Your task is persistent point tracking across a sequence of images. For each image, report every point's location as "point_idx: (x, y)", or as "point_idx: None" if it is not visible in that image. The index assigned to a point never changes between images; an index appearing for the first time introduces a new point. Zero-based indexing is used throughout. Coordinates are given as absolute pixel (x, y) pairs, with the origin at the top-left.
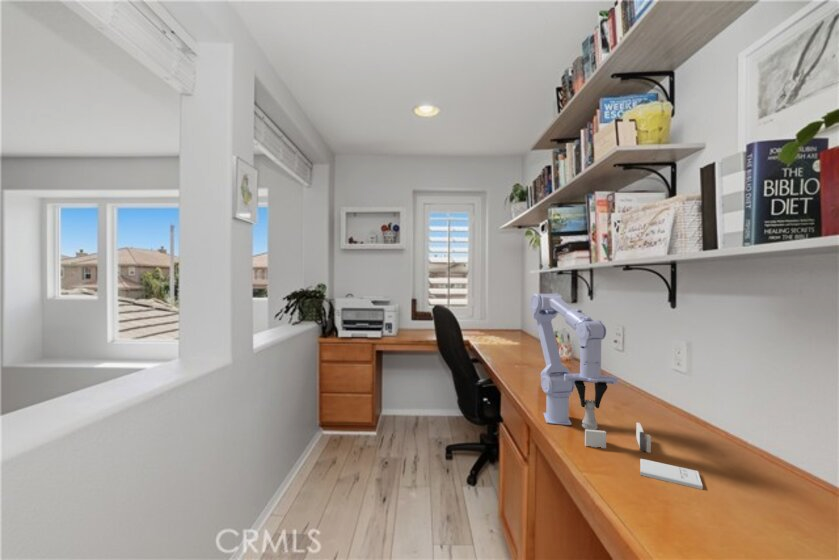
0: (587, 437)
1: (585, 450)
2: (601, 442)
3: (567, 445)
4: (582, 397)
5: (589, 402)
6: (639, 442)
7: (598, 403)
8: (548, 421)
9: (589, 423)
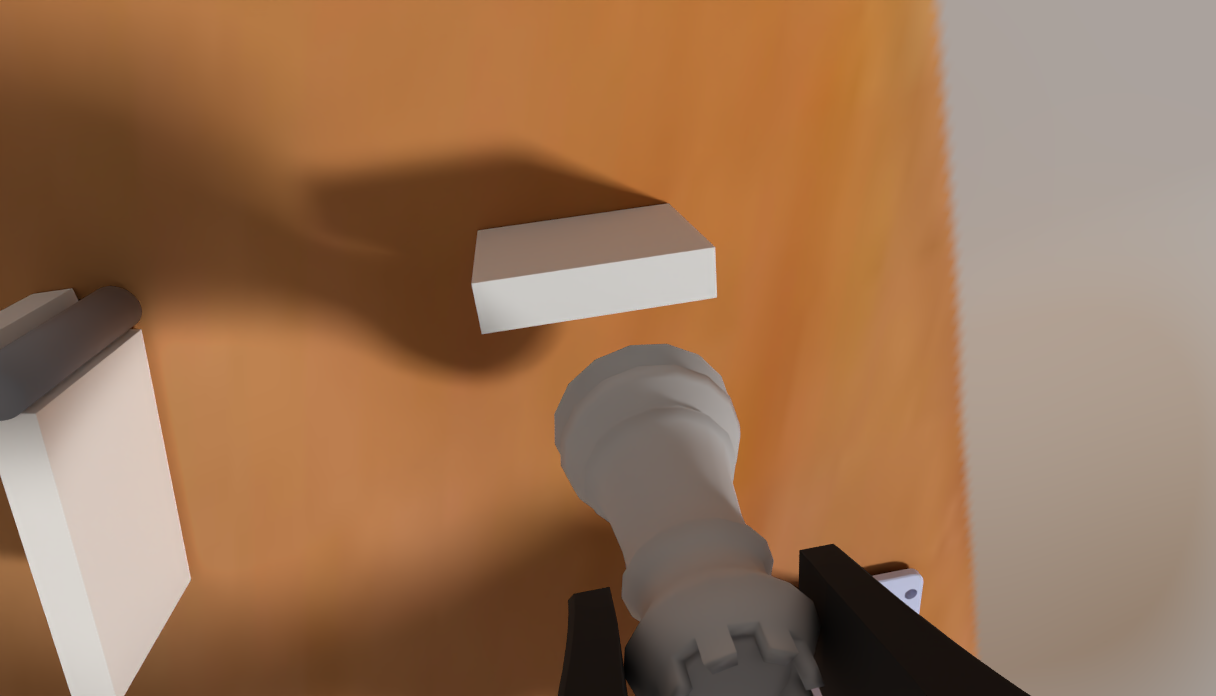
0: (675, 230)
1: (684, 99)
2: (522, 239)
3: (838, 163)
4: (960, 670)
5: (763, 629)
6: (120, 382)
7: (592, 654)
8: (906, 587)
9: (672, 381)
